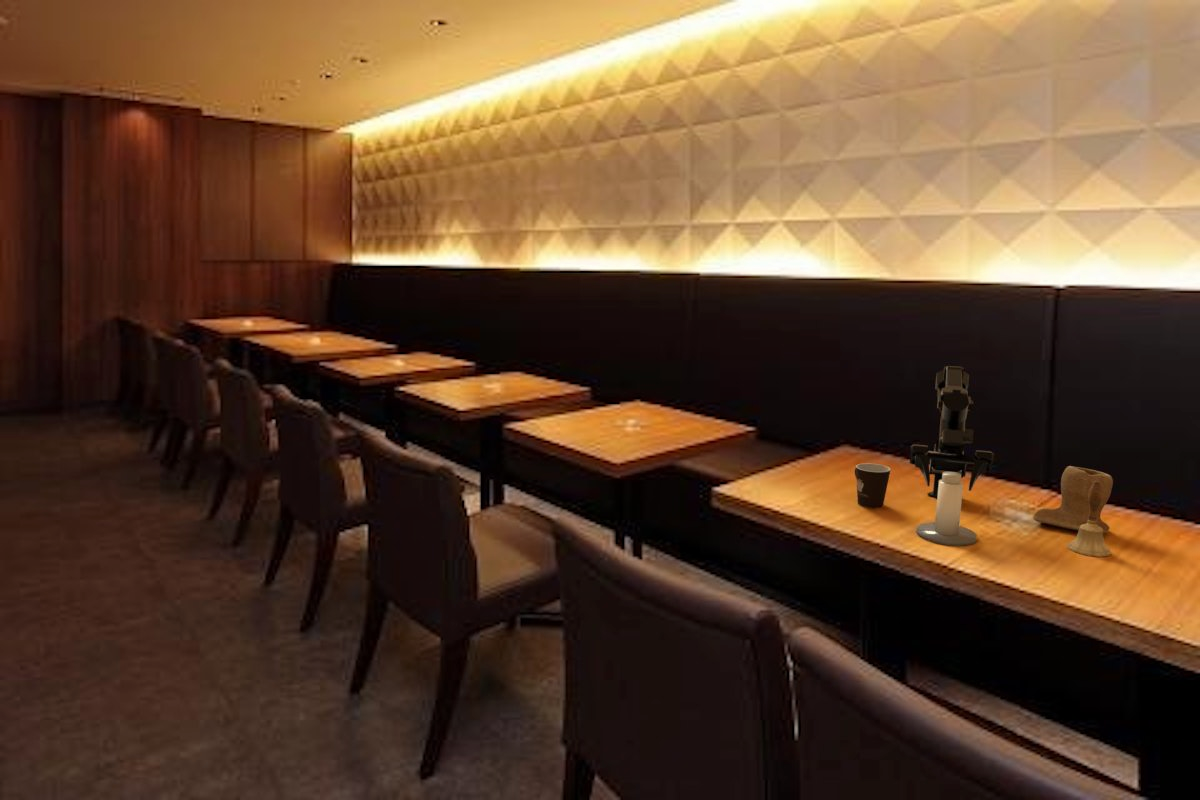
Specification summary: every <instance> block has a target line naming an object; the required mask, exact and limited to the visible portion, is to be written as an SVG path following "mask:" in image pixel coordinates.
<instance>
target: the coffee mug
mask: <svg viewBox="0 0 1200 800" xmlns="http://www.w3.org/2000/svg"><path fill="white" fill-rule="evenodd" d="M890 474H891V468H890V467H889V466H886V465H884V464H877V463H868V462H867V463H866V462H865V463H859V464H857V465H856V464H855V469H854V475H855V479H856V496H857V497H856V499H857V505H858V506H860V507H864V508H870V509H881V508H883V507H884V503H885V498H886V494H887V489H888V483H889V480H890V479H889V478H890Z"/></svg>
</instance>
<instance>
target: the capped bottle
mask: <svg viewBox="0 0 1200 800" xmlns="http://www.w3.org/2000/svg"><path fill="white" fill-rule="evenodd" d="M963 492H964V483H963V481H962V478H961V474H959V473H956V472H943V473H942V480H939V486H938V497H936V498H937V499H936V509H935V510H936V511H935V521H934V522H935V532H937V533H939V534H943V535H958V534H959V526H960V522H961V512H962V502H963Z"/></svg>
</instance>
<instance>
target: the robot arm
mask: <svg viewBox="0 0 1200 800" xmlns="http://www.w3.org/2000/svg"><path fill="white" fill-rule="evenodd" d="M964 369H965V368H964V367H962V366H954V365H953V366H952V365H947V366H944V368H943V369H942V370H940V371H938V372H936V377H935V389H934V390H937V406H936V407H937V409H939V412H940V413H941V416H940V423H939V438H938V439H936V442H935V444H934V449H933V451H932V450H929V448H928V447H929V445H925V444H912V445H910V455H909V464H910V465H913V466H914V467H915V468H917V469H919V471H920V472H921V473H922V475H923V477H924V481H925V483H926V486H927V487H930V483H931V475H934V476H933V485H932V486H933V487H932V491H930V492H927V496H929V497H934V498H937V497H938V486H939V480H942V473H943V472H956V473H959V474H961V479H963V478H964V477H966V472H967V466H968V464H970V465H971V464H973V465H972V466H973V467H972V470H971V475H970V480H969V485H968V491H969V492H971V490H972V489H973V487H974V485H975V483H976V481H977V480H978V478H979V477H980V476H981V475H985V474H986V473H990V472H992V470H993V465H994V463H995V462H994V461H995V459H994V458H995V453H993V452H992V451H991V450H979V449H978V450H977V449H976V450H975V453H974V455H973V454H972V455H970V454H964V452H965V451H966V450H965V449H966V444H972V443H973V439H974V429H972V428H966V420H967V415H968V411H971V409H973V408H974V401H973V400H972V397H971V396H969V394H968V388H969V377H970V375H969V373H967V372H966V371H964Z"/></svg>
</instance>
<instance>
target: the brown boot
mask: <svg viewBox="0 0 1200 800" xmlns="http://www.w3.org/2000/svg"><path fill="white" fill-rule="evenodd" d="M1060 479H1061V480H1060V493H1061V503H1060V506H1058V507H1057V508H1039V509H1038V510H1037V511H1036V512H1035V513H1034V515H1033V521H1035V522H1038V523H1042V524H1046V525H1050V526H1053V527H1058V528H1063V529H1069V530H1073V531H1079V528H1080V526H1081V525H1083V524H1086V523H1087V522H1088V517H1089V516H1088V515H1089V510H1090V506H1089V500H1088V496H1089V491H1090V488H1091V486H1092V485H1093V482H1094V481H1100V482H1101V488H1102V493H1103V494H1102V500H1101V503H1100V505H1099V507H1098V511H1097V520H1096V521H1097V522H1096V524H1097V525H1098V526H1099V527H1101V528H1102V529H1103V535H1104V534H1107V533H1108V532H1110V531H1109V530H1110V526H1109V524H1108V523H1106V522H1105V521H1103V520H1102V518H1101V514H1102V511H1103V508H1104V507H1105V506H1106V503H1107V502H1108V500H1109V499H1110V496H1111V493H1112V488H1113V486H1114V485H1113V484H1114V479H1113V477H1112V475H1110V474H1108V473H1105V472H1102V471H1100V470H1099V471H1098V470H1095V469H1090V468H1085V467H1079V466H1072V465H1069V466H1066V467H1065V469H1064V471H1063V473H1062V475H1061V478H1060Z"/></svg>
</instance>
